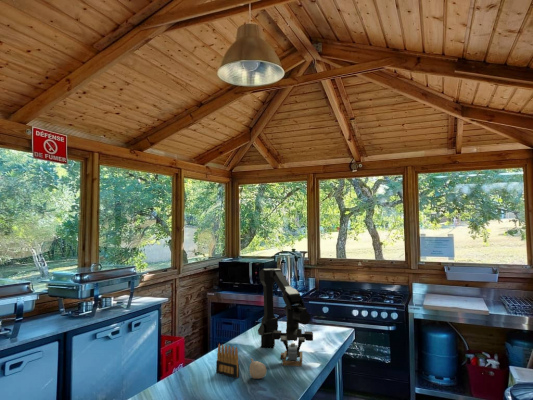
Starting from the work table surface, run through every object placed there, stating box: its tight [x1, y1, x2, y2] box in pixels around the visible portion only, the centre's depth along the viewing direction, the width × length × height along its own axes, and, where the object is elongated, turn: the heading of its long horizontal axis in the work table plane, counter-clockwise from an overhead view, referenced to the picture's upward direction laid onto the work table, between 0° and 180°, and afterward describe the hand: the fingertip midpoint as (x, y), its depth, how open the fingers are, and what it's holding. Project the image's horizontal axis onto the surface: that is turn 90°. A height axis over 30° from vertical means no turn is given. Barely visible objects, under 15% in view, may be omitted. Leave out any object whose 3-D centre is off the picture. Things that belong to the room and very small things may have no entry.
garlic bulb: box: [249, 358, 267, 380], centre depth 150 cm, size 7×6×8 cm
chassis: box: [280, 350, 304, 367], centre depth 171 cm, size 10×14×2 cm
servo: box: [287, 342, 298, 361], centre depth 171 cm, size 4×9×6 cm, turn 173°
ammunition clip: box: [215, 342, 240, 379], centre depth 153 cm, size 11×2×12 cm, turn 59°
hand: (292, 354), depth 171 cm, fingers closed on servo, 4 cm apart
